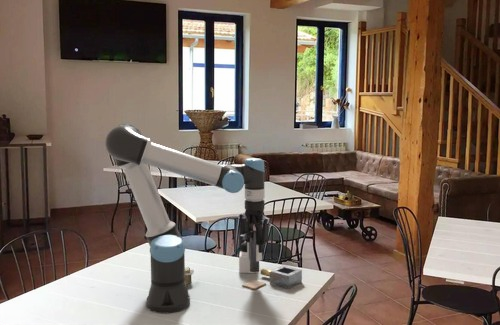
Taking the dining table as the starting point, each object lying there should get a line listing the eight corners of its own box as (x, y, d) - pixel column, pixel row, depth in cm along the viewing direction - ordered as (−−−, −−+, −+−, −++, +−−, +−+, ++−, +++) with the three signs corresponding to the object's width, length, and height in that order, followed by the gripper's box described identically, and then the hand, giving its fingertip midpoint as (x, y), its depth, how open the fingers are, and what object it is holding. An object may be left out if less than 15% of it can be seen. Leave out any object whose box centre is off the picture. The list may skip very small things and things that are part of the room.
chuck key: (253, 268, 197) (253, 228, 195) (261, 270, 195) (261, 230, 193) (237, 275, 190) (237, 233, 188) (245, 277, 187) (245, 235, 185)
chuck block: (289, 288, 192) (289, 276, 192) (255, 279, 202) (255, 267, 201) (301, 282, 199) (301, 269, 199) (268, 273, 209) (268, 261, 208)
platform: (208, 287, 194) (208, 271, 193) (161, 293, 188) (160, 276, 188) (200, 277, 205) (200, 261, 205) (156, 282, 200) (155, 266, 199)
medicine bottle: (256, 273, 209) (256, 245, 207) (239, 273, 209) (239, 245, 208) (256, 267, 216) (256, 240, 214) (239, 267, 216) (239, 240, 215)
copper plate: (254, 290, 191) (254, 288, 191) (242, 286, 195) (242, 284, 195) (265, 284, 196) (265, 283, 196) (253, 281, 200) (253, 279, 200)
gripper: (231, 198, 193) (231, 257, 196) (266, 203, 183) (266, 266, 186) (243, 195, 199) (243, 252, 202) (278, 200, 189) (278, 261, 192)
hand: (254, 259), depth 194 cm, fingers closed on chuck key, 3 cm apart
